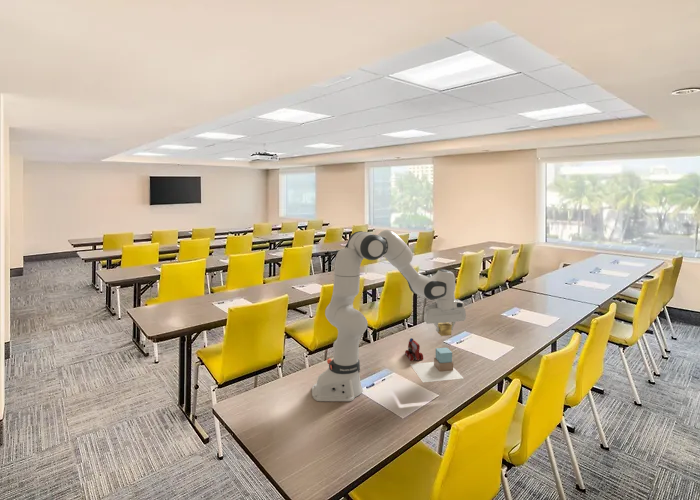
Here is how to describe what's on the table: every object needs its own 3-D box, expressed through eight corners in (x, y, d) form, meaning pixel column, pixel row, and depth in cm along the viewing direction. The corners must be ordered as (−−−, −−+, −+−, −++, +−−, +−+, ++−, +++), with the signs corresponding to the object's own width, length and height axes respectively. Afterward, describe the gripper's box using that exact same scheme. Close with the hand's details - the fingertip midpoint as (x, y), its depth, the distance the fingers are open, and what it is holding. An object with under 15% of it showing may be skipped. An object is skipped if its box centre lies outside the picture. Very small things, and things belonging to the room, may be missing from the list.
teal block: (440, 363, 186) (440, 353, 185) (435, 357, 192) (435, 348, 191) (452, 362, 187) (452, 352, 186) (446, 356, 193) (447, 347, 192)
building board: (422, 384, 176) (423, 374, 175) (409, 366, 194) (409, 356, 194) (464, 380, 179) (464, 370, 178) (447, 362, 198) (447, 353, 197)
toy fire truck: (415, 353, 210) (415, 335, 208) (424, 363, 198) (425, 344, 196) (403, 354, 208) (403, 336, 207) (411, 364, 196) (412, 345, 195)
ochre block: (441, 336, 184) (441, 326, 184) (437, 332, 189) (437, 322, 188) (451, 335, 185) (451, 325, 184) (447, 331, 190) (447, 321, 189)
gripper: (426, 306, 180) (426, 334, 182) (467, 303, 183) (466, 331, 186) (422, 302, 186) (421, 329, 188) (461, 299, 190) (460, 326, 192)
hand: (444, 330), depth 187 cm, fingers closed on ochre block, 5 cm apart
